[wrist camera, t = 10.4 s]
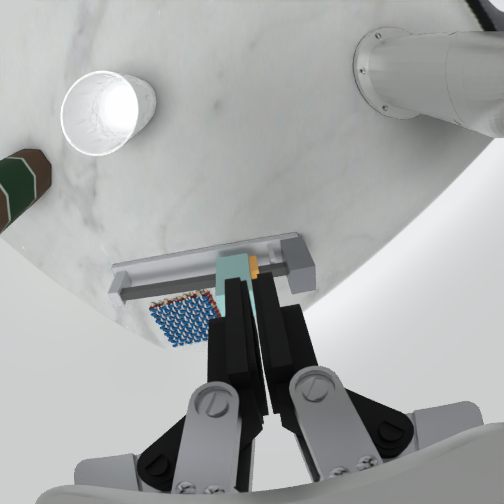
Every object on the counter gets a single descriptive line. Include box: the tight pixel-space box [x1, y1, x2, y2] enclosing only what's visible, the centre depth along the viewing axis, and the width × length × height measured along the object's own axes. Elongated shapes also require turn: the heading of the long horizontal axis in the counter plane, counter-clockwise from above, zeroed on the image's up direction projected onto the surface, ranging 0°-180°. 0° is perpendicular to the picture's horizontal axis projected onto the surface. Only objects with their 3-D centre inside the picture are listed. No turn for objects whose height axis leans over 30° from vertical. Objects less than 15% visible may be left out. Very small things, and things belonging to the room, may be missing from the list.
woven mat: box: [149, 289, 221, 347], centre depth 47 cm, size 10×11×2 cm
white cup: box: [61, 71, 157, 156], centre depth 25 cm, size 8×8×10 cm
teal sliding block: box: [215, 253, 256, 317], centre depth 36 cm, size 4×4×7 cm
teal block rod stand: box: [108, 232, 316, 307], centre depth 38 cm, size 28×4×8 cm, turn 98°
